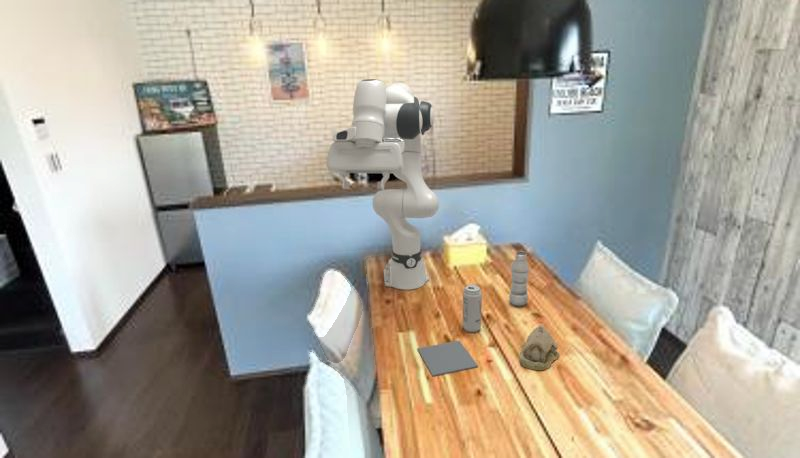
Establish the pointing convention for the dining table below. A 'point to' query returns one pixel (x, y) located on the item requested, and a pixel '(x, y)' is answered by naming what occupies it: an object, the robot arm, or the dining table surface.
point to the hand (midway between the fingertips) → (363, 189)
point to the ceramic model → (538, 350)
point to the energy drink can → (472, 308)
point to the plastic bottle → (519, 280)
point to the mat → (446, 358)
